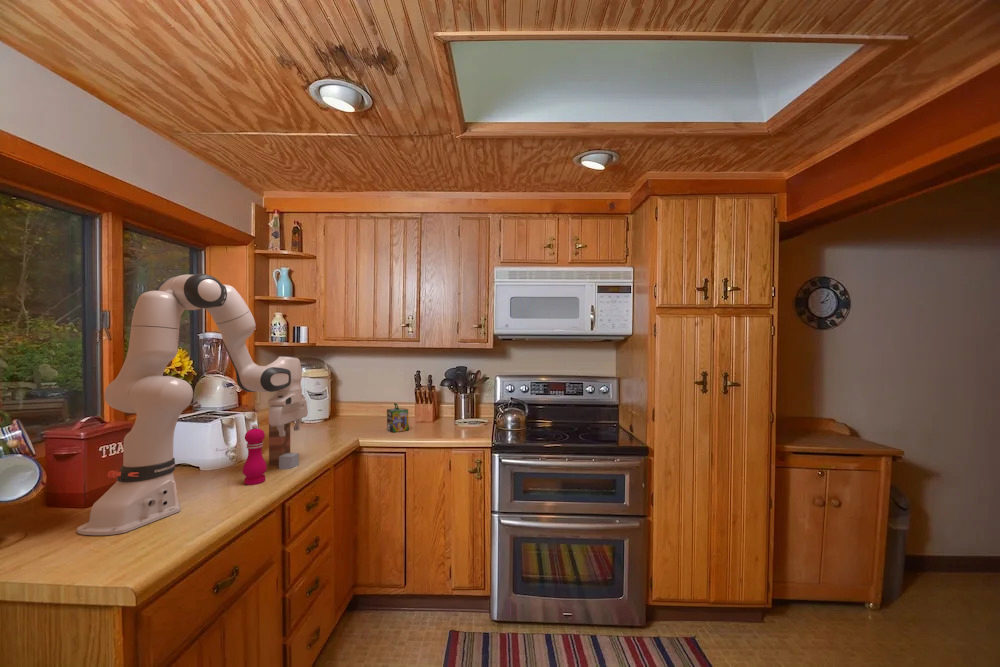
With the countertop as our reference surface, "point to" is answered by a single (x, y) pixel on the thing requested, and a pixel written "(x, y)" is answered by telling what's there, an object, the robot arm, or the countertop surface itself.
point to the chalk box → (397, 419)
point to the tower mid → (279, 443)
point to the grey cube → (288, 460)
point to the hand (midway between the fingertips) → (289, 433)
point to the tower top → (275, 433)
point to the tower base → (276, 456)
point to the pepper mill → (254, 457)
